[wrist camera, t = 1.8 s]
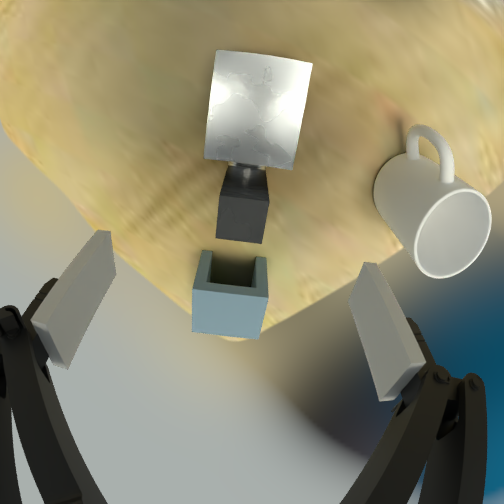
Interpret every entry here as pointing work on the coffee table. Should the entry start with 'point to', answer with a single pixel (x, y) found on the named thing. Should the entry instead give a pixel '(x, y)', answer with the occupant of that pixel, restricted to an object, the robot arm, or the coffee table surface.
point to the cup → (432, 207)
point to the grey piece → (243, 203)
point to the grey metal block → (256, 108)
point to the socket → (229, 302)
